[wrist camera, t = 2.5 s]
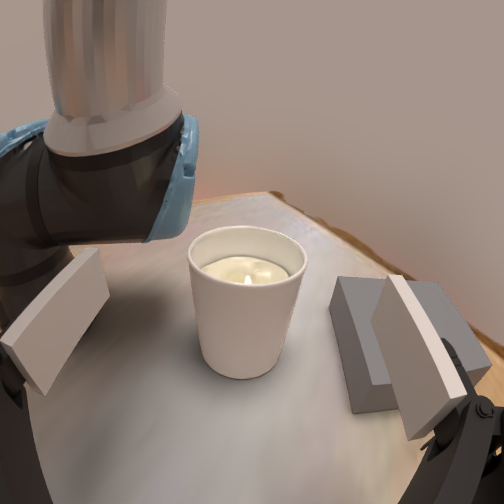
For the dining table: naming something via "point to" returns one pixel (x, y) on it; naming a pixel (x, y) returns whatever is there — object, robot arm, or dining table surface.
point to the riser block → (367, 348)
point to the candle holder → (244, 296)
